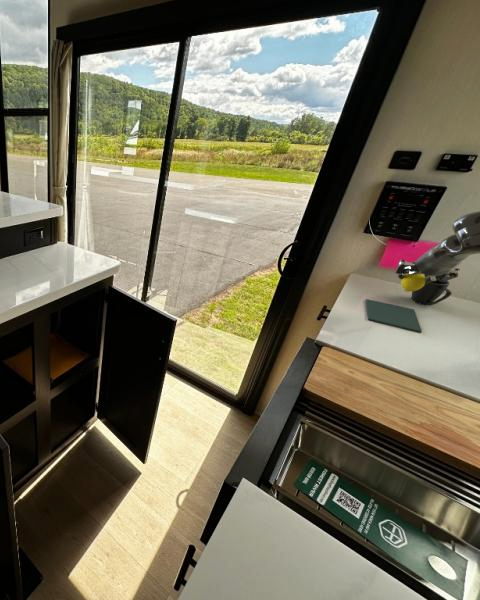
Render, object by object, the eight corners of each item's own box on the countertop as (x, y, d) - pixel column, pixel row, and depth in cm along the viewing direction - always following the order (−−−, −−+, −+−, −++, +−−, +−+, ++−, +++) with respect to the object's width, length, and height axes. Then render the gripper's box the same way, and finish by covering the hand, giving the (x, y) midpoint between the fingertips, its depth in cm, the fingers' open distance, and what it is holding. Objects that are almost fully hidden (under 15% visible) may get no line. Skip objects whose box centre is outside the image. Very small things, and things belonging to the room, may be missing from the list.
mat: (413, 310, 117) (414, 309, 117) (421, 332, 106) (422, 331, 106) (365, 300, 124) (366, 298, 124) (368, 320, 113) (368, 318, 113)
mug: (422, 311, 117) (437, 289, 112) (401, 295, 127) (413, 273, 122) (449, 313, 115) (465, 290, 110) (425, 296, 125) (438, 275, 120)
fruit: (417, 297, 105) (431, 276, 101) (395, 291, 108) (407, 271, 104) (418, 291, 108) (431, 270, 104) (397, 286, 112) (409, 265, 108)
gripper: (405, 265, 96) (382, 283, 111) (473, 276, 89) (439, 294, 103) (411, 243, 97) (388, 264, 111) (479, 252, 90) (444, 273, 104)
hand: (413, 278), depth 107 cm, fingers closed on fruit, 5 cm apart
